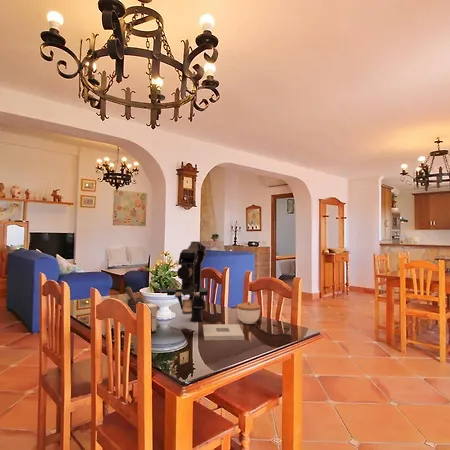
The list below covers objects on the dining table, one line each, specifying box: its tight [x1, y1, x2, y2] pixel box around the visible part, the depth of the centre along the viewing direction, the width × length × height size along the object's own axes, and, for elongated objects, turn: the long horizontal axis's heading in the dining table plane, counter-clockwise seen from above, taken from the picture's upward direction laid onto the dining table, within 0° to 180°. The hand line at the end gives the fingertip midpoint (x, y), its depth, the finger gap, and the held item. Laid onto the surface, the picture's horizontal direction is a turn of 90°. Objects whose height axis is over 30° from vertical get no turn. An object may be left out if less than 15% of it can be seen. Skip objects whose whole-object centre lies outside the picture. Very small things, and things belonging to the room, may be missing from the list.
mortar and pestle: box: [124, 286, 145, 313], centre depth 167 cm, size 12×9×20 cm
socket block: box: [202, 323, 245, 341], centre depth 154 cm, size 18×18×2 cm
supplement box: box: [146, 303, 158, 331], centre depth 156 cm, size 7×7×13 cm
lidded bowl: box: [236, 301, 261, 325], centre depth 176 cm, size 13×13×11 cm
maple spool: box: [181, 299, 192, 315], centre depth 153 cm, size 4×4×6 cm
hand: (187, 309), depth 153 cm, fingers closed on maple spool, 4 cm apart
